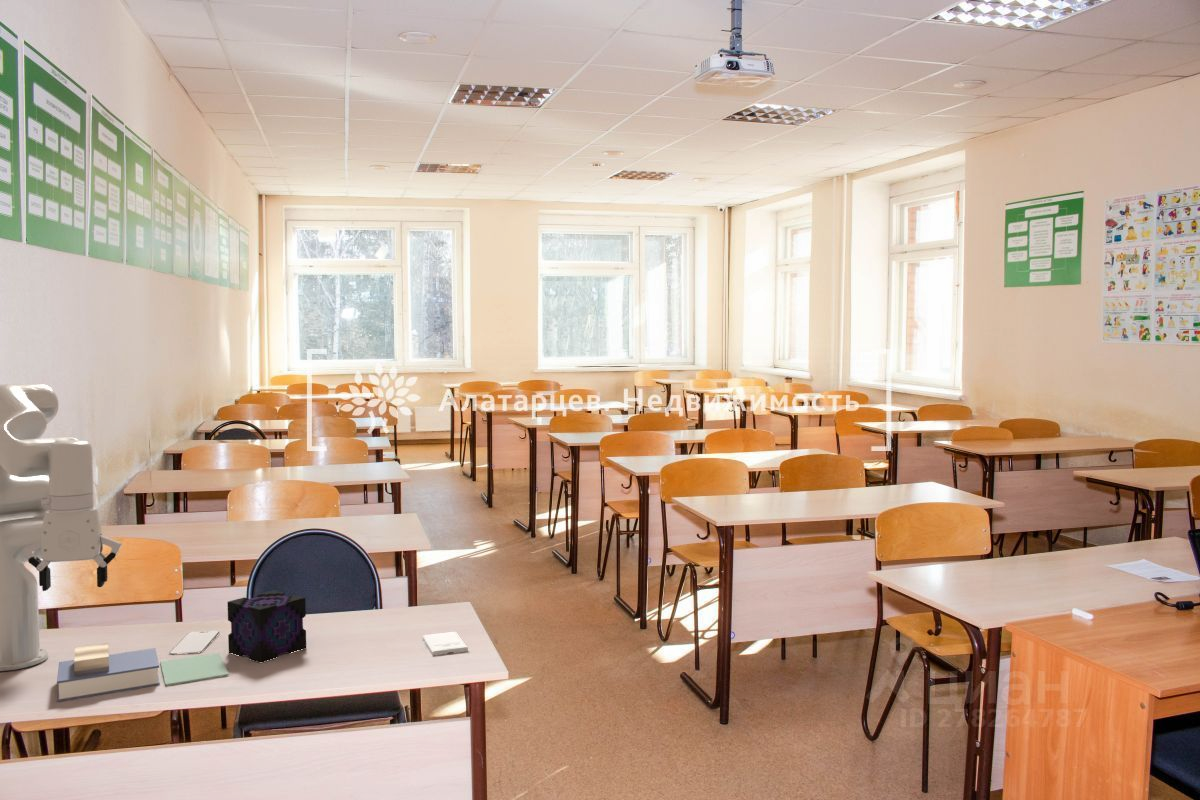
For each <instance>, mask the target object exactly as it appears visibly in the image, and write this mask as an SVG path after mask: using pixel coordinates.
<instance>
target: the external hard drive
mask: <svg viewBox="0 0 1200 800" xmlns="http://www.w3.org/2000/svg"><path fill="white" fill-rule="evenodd" d="M422 639H423V640H422V642H423V641H424V642H425V643H424V642H423V643H424V644H426V645H425V646H426V648H427V649H428V651H429V653H430V654H431V655H432V657H434V656H433V655H435V656H442V654H443V655H448V654H449V655H450V654H457V653H465V652H469V647H468V646H467V645H466V643H465V642H464V641H463V639H462V638H461V637H460V635H459V634H458V632H457V631H449V632H448V631H447V632H439V633H432V634H424V635H422Z"/></svg>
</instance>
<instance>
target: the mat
mask: <svg viewBox="0 0 1200 800" xmlns="http://www.w3.org/2000/svg"><path fill="white" fill-rule="evenodd" d="M160 663H161V664H160V667H161V671H162V676H163V681H164V685H165V687H168V686H175V685H180V684H181V685H182V684H188V683H193V682H198V681H206V680H211V679H210V678H212V679H216V678H215V677H218V678H221V677H220V676H224V677H227V676H226V675H229V672H228V670H227V667H226V664H225V663H224V659H222V656H221V654H220V652H214V653H208V654H201V655H194V656H189V657H187V656H186V657H180V658H175V659H174V658H173V659H167V660H162V661H160Z"/></svg>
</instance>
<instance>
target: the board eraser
mask: <svg viewBox="0 0 1200 800" xmlns="http://www.w3.org/2000/svg"><path fill="white" fill-rule="evenodd" d="M109 655H110V654H109V643H108V642H106V643H98V644H92V645H85V646H77V647H74V658H73V660H74V669H75V676H81V675H88V674H94V673H101V672H107V671H109Z"/></svg>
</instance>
